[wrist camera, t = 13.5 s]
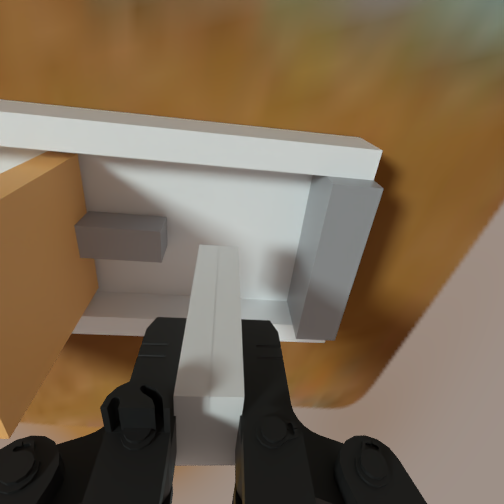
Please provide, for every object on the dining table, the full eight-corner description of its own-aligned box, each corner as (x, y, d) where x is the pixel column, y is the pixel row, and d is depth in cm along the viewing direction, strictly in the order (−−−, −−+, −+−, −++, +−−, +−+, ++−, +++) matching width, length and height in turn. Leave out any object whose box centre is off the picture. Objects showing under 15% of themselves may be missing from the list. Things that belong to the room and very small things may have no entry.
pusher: (49, 149, 14) (-143, 241, 7) (165, 160, 14) (100, 256, 7) (76, 283, 17) (-32, 438, 10) (168, 288, 18) (126, 439, 11)
